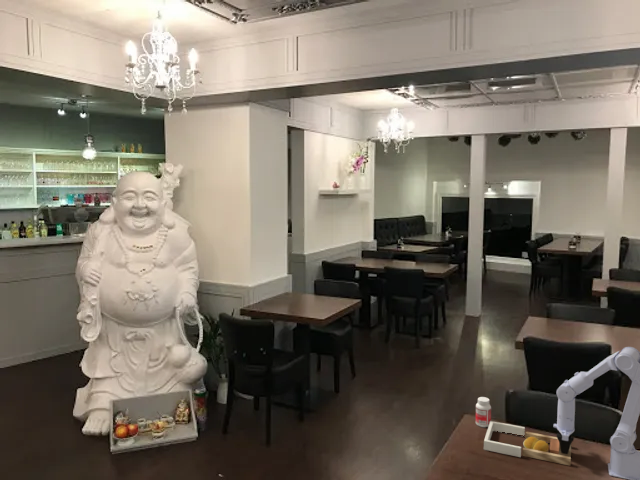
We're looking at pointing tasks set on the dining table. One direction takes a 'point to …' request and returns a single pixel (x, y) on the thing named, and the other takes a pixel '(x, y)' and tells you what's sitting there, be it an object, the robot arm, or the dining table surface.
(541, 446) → the bread roll
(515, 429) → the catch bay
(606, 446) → the dining table surface
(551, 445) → the two-tone t block
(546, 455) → the slot rails
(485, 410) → the pill bottle
